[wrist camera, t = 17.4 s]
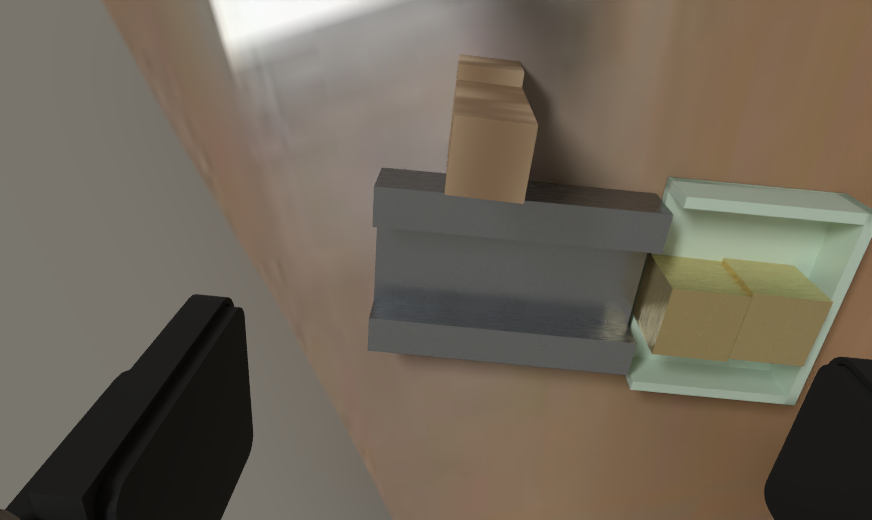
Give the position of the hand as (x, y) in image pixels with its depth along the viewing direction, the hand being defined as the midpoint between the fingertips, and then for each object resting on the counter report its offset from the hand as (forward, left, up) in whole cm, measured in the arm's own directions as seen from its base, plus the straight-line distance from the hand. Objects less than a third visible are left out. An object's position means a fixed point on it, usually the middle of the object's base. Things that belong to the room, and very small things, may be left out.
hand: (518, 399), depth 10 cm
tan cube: (-12, +9, -23) cm, 27 cm away
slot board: (-2, +9, -23) cm, 25 cm away
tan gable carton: (0, 0, -23) cm, 23 cm away
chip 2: (-16, +9, -23) cm, 29 cm away
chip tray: (-15, +9, -23) cm, 29 cm away
